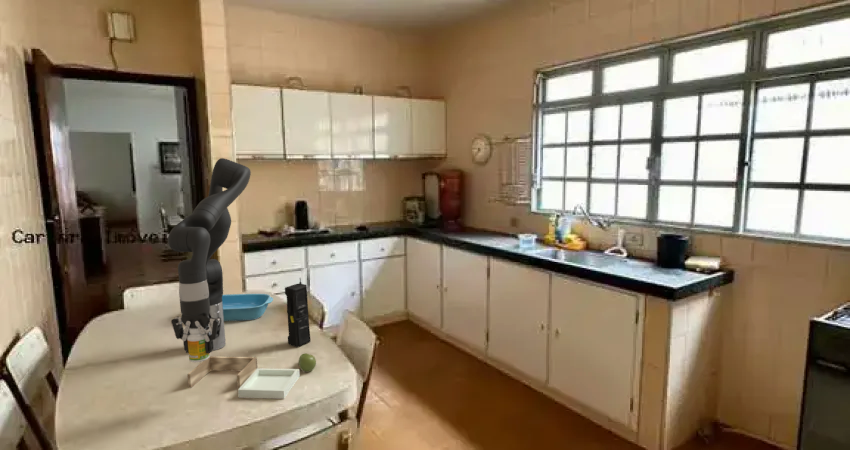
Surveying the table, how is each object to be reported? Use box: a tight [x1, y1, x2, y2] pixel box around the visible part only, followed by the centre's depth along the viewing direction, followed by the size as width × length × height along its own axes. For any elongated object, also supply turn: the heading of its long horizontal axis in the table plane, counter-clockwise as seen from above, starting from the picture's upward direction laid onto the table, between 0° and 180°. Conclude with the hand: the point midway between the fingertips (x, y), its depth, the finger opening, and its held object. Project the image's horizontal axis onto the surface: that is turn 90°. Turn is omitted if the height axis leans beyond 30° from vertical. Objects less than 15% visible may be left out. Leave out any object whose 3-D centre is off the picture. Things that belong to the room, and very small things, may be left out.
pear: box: [298, 352, 317, 373], centre depth 159 cm, size 6×5×10 cm
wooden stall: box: [187, 355, 258, 390], centre depth 152 cm, size 17×13×4 cm
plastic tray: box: [237, 367, 301, 400], centre depth 146 cm, size 14×14×2 cm
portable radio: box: [284, 278, 312, 348], centre depth 177 cm, size 8×6×25 cm
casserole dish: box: [222, 293, 274, 322], centre depth 211 cm, size 37×22×7 cm, turn 97°
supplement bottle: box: [187, 328, 211, 363], centre depth 135 cm, size 5×5×10 cm
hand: (199, 352), depth 136 cm, fingers closed on supplement bottle, 5 cm apart
